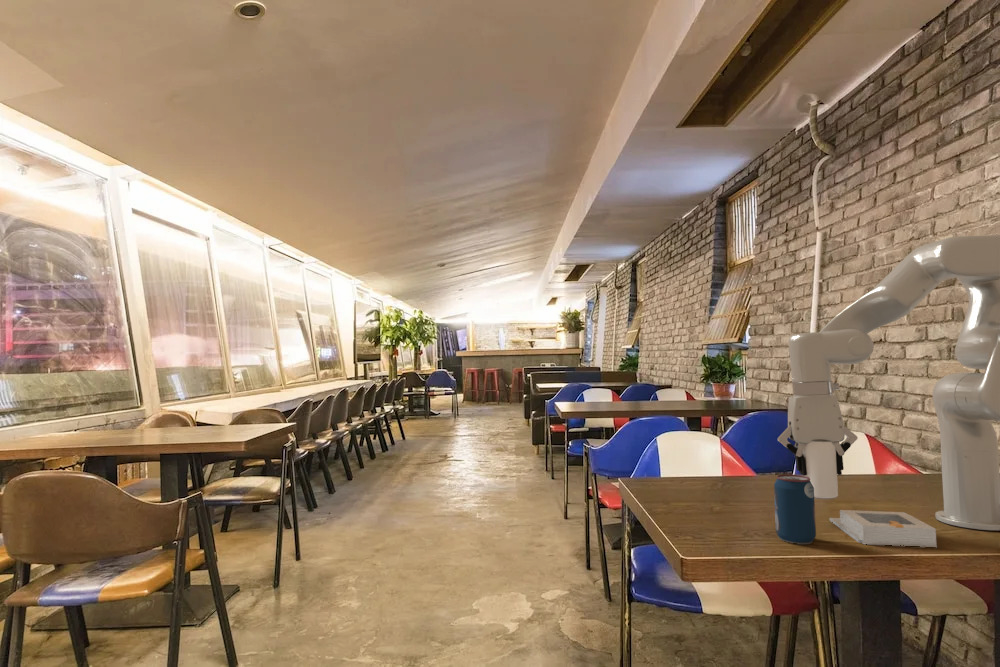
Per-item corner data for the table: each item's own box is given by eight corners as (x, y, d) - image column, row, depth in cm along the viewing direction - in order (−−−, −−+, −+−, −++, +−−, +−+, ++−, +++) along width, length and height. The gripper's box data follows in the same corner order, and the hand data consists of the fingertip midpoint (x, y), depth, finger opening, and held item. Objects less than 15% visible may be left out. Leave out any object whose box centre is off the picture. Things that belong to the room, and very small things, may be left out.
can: (842, 500, 119) (840, 441, 119) (808, 499, 120) (806, 441, 121) (831, 493, 125) (829, 437, 126) (799, 492, 126) (797, 437, 127)
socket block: (897, 523, 122) (896, 504, 122) (940, 548, 105) (939, 527, 105) (829, 520, 124) (828, 502, 125) (861, 544, 107) (860, 523, 108)
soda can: (824, 543, 109) (822, 479, 109) (794, 547, 107) (792, 481, 107) (796, 533, 115) (794, 472, 116) (767, 536, 113) (765, 475, 114)
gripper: (849, 386, 126) (857, 470, 125) (765, 390, 129) (772, 471, 128) (863, 388, 118) (872, 476, 117) (773, 392, 122) (781, 478, 121)
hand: (820, 473), depth 123 cm, fingers closed on can, 6 cm apart
